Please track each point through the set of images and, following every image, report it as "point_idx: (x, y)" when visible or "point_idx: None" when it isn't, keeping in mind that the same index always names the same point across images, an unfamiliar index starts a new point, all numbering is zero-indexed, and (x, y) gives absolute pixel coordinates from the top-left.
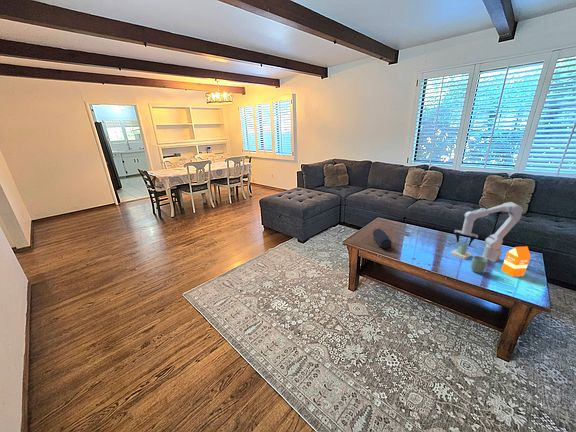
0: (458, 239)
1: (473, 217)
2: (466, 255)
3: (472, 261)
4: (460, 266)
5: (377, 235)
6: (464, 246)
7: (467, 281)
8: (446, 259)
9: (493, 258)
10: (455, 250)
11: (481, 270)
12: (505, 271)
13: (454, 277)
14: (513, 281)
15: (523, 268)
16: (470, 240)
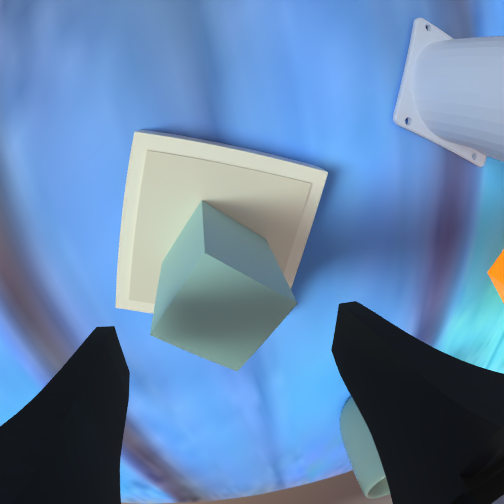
0: (111, 414)
1: None
2: (285, 273)
3: (354, 471)
4: (274, 421)
5: None
6: (257, 327)
7: (322, 477)
8: (161, 406)
9: (490, 155)
10: (136, 235)
11: None
12: (500, 289)
13: (273, 489)
14: (492, 343)
15: None
16: (388, 462)
